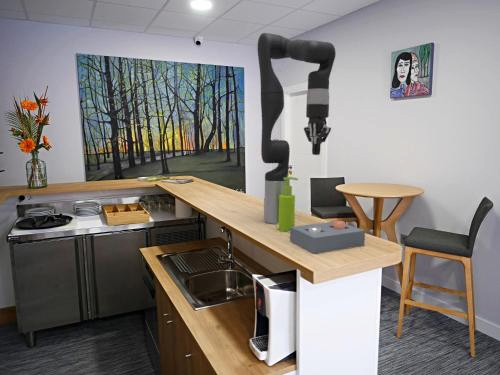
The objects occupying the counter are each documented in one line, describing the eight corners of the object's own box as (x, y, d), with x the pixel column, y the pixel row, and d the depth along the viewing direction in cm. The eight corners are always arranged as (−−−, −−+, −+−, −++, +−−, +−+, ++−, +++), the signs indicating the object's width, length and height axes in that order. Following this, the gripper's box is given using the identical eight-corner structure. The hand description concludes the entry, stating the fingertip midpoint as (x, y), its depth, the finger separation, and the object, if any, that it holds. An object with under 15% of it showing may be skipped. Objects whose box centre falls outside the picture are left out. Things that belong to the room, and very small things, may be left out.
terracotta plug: (330, 235, 127) (330, 221, 126) (339, 234, 129) (340, 220, 128) (337, 238, 124) (338, 224, 123) (347, 237, 125) (347, 222, 125)
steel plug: (305, 241, 123) (306, 227, 122) (315, 240, 125) (316, 225, 124) (312, 245, 120) (313, 230, 119) (322, 243, 121) (323, 228, 120)
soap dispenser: (296, 232, 137) (297, 178, 134) (277, 231, 139) (278, 178, 136) (297, 228, 143) (298, 176, 140) (279, 227, 144) (280, 176, 141)
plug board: (289, 241, 126) (290, 227, 126) (337, 234, 135) (337, 221, 134) (313, 253, 114) (314, 237, 113) (364, 245, 122) (365, 230, 122)
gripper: (297, 104, 130) (296, 153, 133) (320, 101, 118) (318, 156, 121) (315, 104, 133) (313, 153, 136) (339, 102, 121) (337, 155, 124)
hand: (316, 154), depth 128 cm, fingers closed
